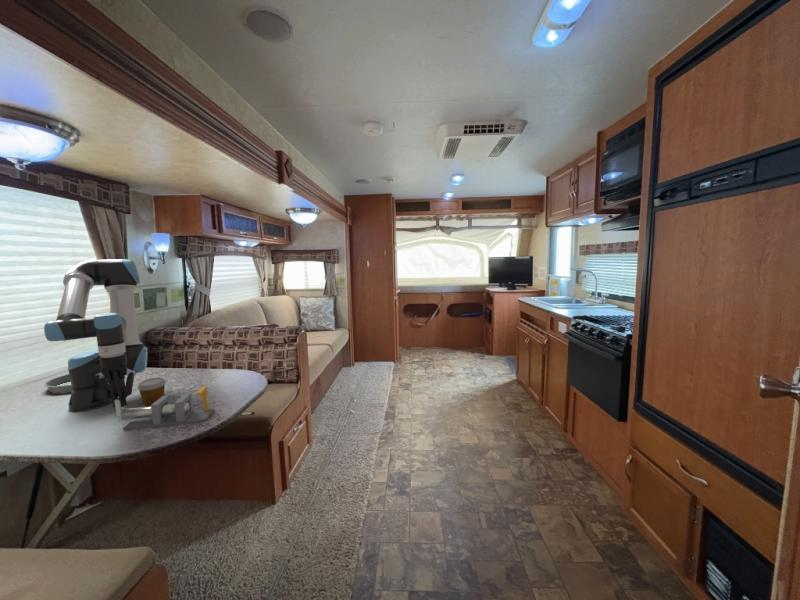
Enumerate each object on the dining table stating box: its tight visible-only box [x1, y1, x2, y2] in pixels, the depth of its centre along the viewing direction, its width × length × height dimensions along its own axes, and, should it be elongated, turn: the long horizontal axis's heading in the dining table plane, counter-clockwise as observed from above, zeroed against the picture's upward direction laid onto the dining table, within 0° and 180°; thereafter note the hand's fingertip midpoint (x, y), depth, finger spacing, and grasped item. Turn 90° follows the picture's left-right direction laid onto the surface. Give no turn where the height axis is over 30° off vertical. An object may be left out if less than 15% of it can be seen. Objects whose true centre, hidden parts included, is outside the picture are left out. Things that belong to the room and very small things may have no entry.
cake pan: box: [44, 373, 72, 394], centre depth 166 cm, size 25×25×4 cm
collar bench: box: [122, 385, 215, 431], centre depth 127 cm, size 28×9×11 cm, turn 101°
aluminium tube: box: [120, 403, 190, 421], centre depth 126 cm, size 22×4×4 cm, turn 101°
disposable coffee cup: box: [137, 377, 166, 407], centre depth 137 cm, size 10×10×12 cm
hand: (121, 414), depth 124 cm, fingers closed
